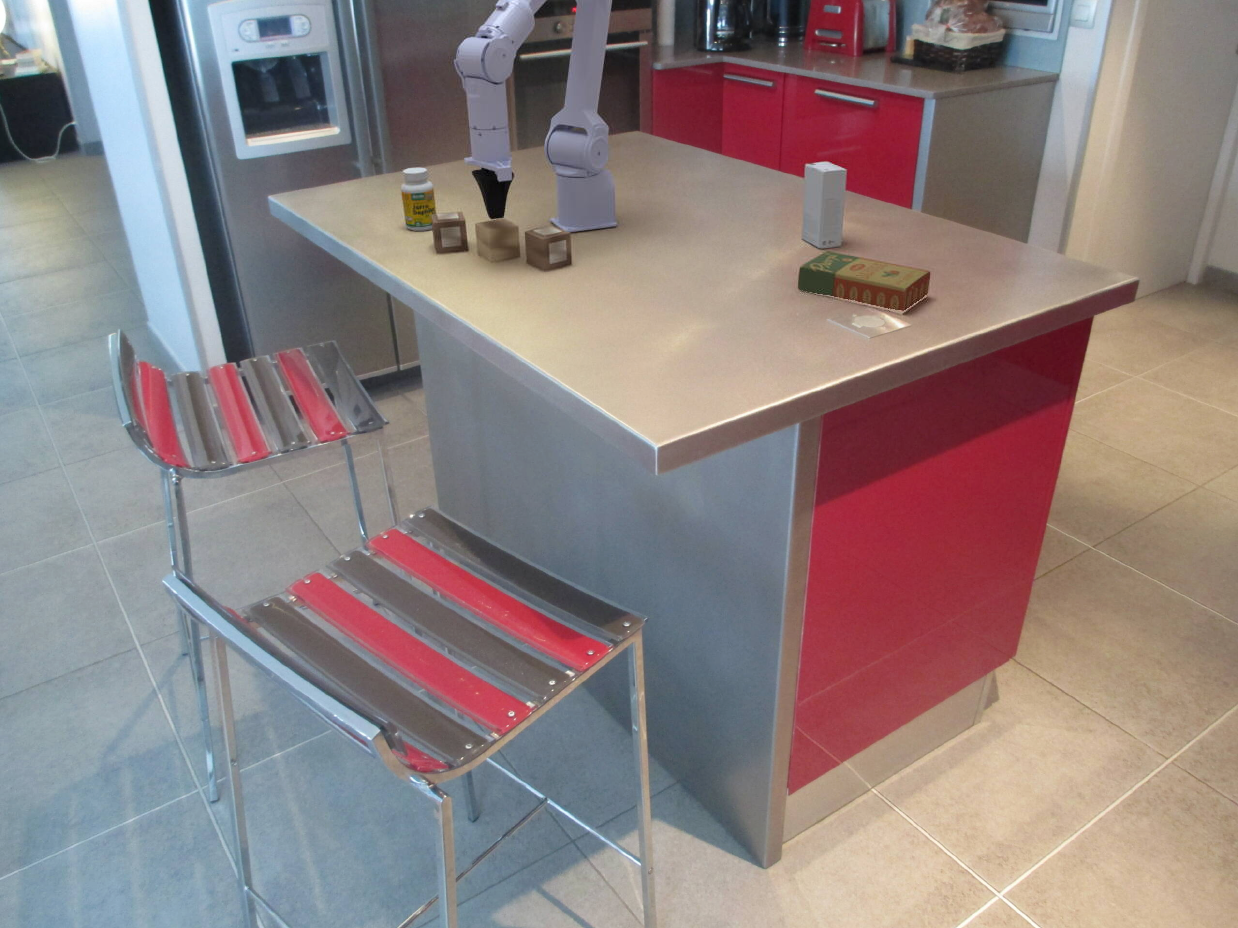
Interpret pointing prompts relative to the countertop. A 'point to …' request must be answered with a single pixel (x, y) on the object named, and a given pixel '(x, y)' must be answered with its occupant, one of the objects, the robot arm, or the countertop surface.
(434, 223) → the walnut block
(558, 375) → the countertop surface
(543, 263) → the walnut block
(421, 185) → the supplement bottle
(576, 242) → the countertop surface
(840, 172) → the skincare box
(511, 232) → the oak block
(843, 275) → the carton
